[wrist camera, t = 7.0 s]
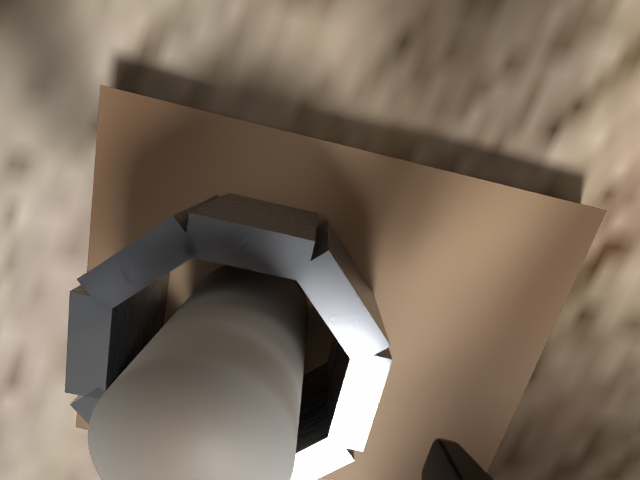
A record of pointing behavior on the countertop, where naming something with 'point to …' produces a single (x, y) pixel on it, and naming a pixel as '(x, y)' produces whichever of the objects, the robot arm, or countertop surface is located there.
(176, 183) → the tan board with peg
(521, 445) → the countertop surface
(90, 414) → the hollow octagonal tube
